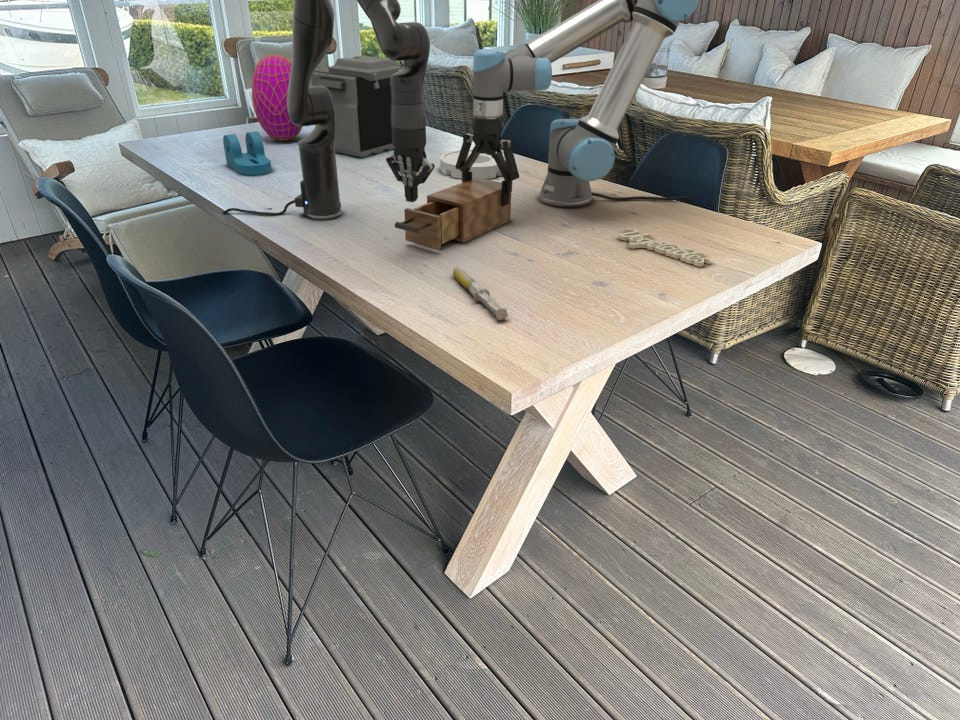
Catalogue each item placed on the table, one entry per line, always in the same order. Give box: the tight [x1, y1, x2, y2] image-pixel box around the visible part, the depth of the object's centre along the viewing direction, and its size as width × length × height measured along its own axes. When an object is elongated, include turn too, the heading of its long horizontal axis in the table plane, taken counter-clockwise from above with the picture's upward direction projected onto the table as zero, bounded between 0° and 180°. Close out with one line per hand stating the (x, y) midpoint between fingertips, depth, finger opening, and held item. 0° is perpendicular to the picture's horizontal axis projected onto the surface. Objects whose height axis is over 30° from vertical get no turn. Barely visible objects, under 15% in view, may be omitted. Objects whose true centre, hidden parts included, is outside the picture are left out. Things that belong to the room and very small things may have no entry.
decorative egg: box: [251, 54, 304, 142], centre depth 257 cm, size 19×19×30 cm
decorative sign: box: [618, 227, 711, 267], centre depth 169 cm, size 26×1×10 cm
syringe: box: [452, 266, 509, 321], centre depth 145 cm, size 25×4×3 cm, turn 21°
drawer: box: [394, 201, 460, 250], centre depth 170 cm, size 26×10×8 cm, turn 145°
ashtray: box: [439, 148, 506, 180], centre depth 230 cm, size 23×23×4 cm
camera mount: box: [222, 131, 272, 176], centre depth 226 cm, size 18×10×10 cm, turn 35°
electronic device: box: [311, 55, 403, 159], centre depth 250 cm, size 37×22×30 cm, turn 144°
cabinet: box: [426, 178, 512, 244], centre depth 180 cm, size 22×12×10 cm, turn 145°
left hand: (411, 201), depth 159 cm, fingers closed
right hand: (486, 200), depth 185 cm, fingers closed on cabinet, 11 cm apart
